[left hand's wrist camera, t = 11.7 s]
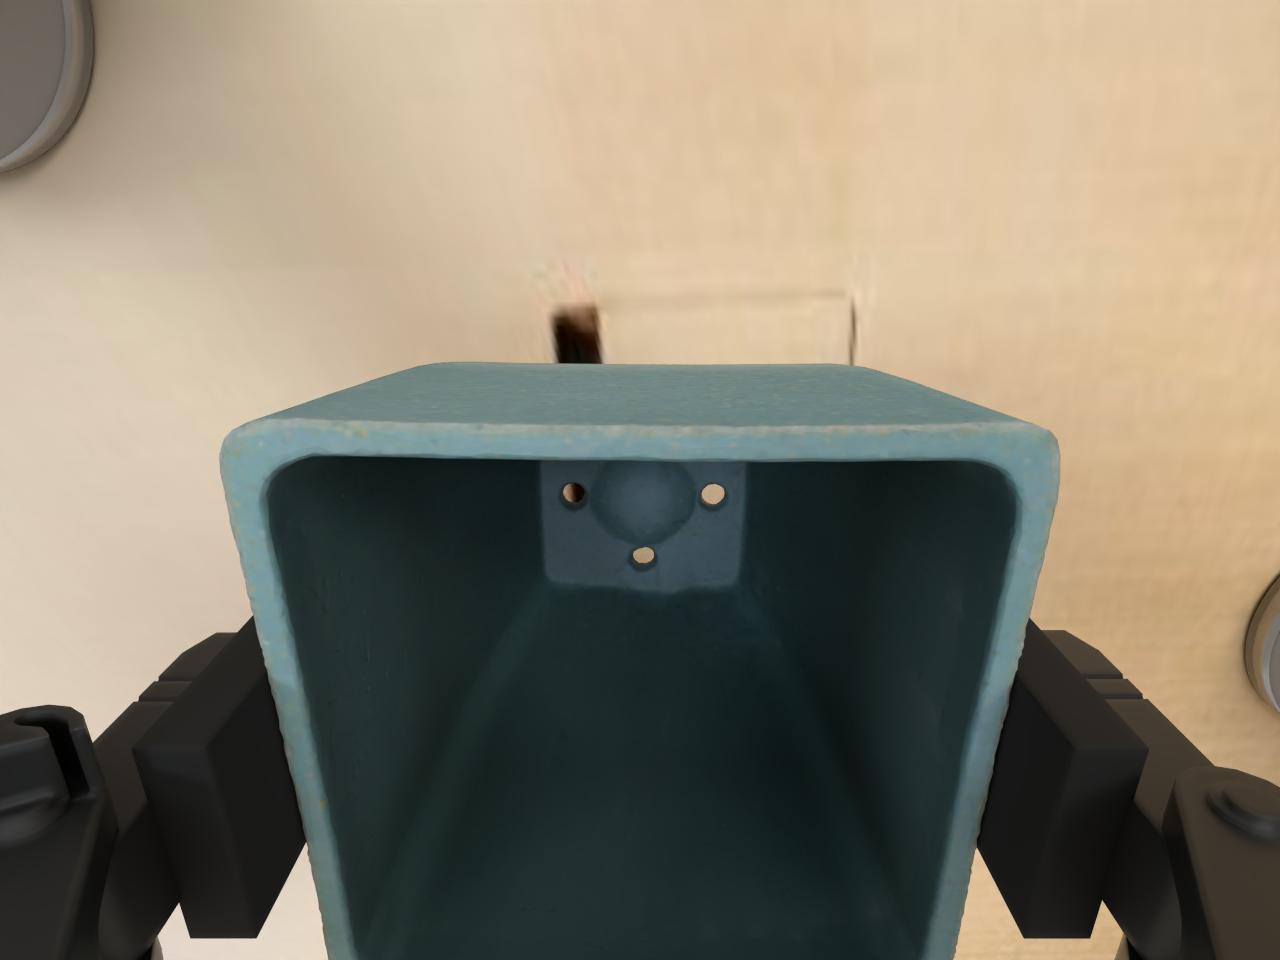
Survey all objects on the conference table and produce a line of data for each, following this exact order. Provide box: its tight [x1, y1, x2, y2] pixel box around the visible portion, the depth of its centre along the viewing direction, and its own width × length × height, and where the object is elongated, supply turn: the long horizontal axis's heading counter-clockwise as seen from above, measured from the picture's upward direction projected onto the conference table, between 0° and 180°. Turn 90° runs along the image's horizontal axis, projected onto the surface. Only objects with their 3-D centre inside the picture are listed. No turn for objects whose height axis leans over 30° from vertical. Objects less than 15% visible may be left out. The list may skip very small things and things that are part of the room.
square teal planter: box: [219, 362, 1060, 960], centre depth 13 cm, size 9×9×9 cm
